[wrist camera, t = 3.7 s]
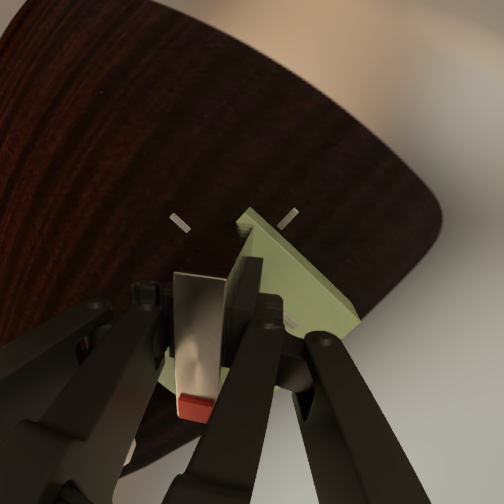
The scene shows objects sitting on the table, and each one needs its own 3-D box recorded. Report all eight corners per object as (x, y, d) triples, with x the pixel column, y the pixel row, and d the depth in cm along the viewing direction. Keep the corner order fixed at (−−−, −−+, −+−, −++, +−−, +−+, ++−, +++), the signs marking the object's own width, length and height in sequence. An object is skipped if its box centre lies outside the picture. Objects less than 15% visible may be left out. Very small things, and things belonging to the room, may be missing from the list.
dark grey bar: (226, 221, 17) (170, 274, 8) (254, 224, 17) (225, 282, 8) (219, 315, 19) (175, 420, 10) (244, 319, 19) (216, 428, 10)
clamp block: (236, 151, 19) (228, 148, 16) (372, 283, 21) (386, 300, 17) (110, 308, 23) (91, 325, 20) (227, 403, 25) (221, 428, 22)
